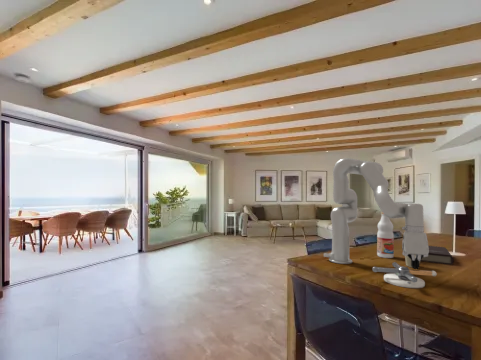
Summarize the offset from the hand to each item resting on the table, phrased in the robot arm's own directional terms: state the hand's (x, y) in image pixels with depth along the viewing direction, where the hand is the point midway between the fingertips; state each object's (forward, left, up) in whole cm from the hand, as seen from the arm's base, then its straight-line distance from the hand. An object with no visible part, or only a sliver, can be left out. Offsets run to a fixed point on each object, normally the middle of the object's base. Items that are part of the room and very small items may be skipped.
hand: (415, 268), depth 134 cm
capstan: (-7, -7, -3) cm, 11 cm away
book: (+27, +51, -5) cm, 58 cm away
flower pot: (+8, +25, -5) cm, 26 cm away
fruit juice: (0, +47, -5) cm, 47 cm away
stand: (-7, -7, -5) cm, 11 cm away
